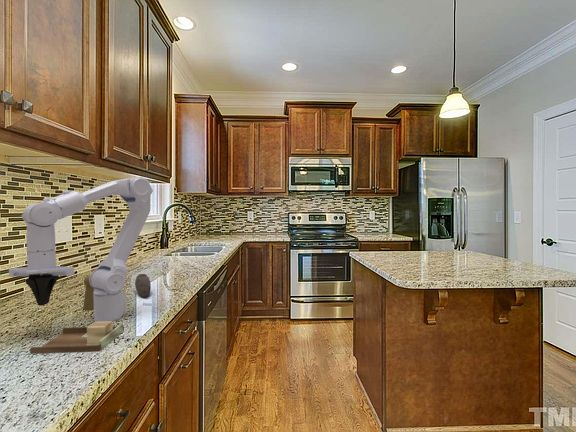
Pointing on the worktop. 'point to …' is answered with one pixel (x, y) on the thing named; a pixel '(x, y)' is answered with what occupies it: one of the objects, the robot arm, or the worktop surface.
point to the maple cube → (98, 331)
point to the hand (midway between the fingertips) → (43, 304)
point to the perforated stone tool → (143, 285)
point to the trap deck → (76, 341)
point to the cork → (88, 295)
